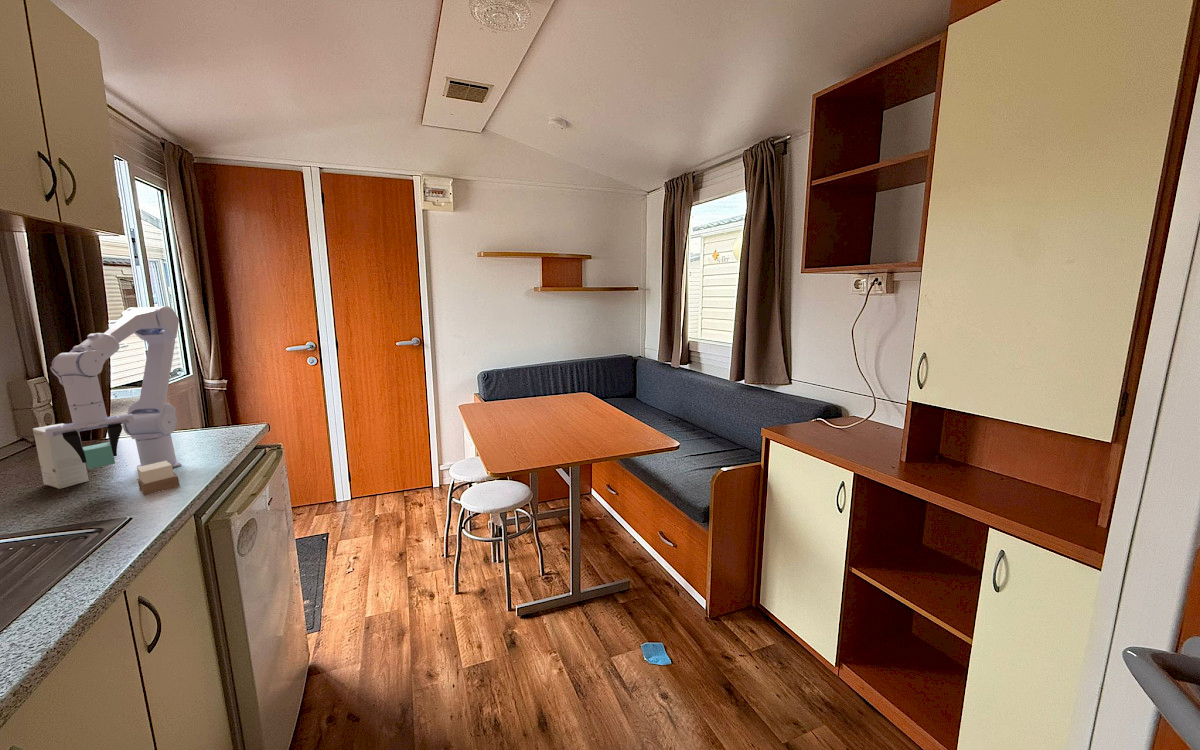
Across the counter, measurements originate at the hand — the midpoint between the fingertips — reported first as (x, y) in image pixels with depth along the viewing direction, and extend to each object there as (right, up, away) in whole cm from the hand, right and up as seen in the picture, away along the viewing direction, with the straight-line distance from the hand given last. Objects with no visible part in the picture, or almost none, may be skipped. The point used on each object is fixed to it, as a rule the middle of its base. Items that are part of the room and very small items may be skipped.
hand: (99, 458), depth 118 cm
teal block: (0, -1, 0) cm, 2 cm away
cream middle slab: (+11, -5, +2) cm, 13 cm away
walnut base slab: (+11, -8, +3) cm, 14 cm away
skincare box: (-17, -8, +9) cm, 20 cm away
